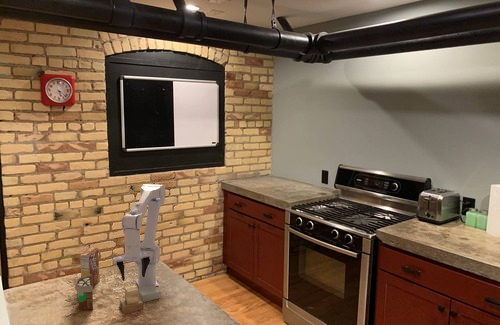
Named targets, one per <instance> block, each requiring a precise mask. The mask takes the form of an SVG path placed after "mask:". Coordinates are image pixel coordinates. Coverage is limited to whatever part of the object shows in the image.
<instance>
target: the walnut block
mask: <svg viewBox="0 0 500 325" xmlns="http://www.w3.org/2000/svg"><path fill="white" fill-rule="evenodd" d="M119 306H120V308H121V310H122V313H123V314H129V313H133V312H136V311H137V312H138V311H141V310H143V309H144V307H143V306H144V302H142V300H141V299H140V297H139V295H138V302H136V303H132V304H127V303H126V300H125V297H124V298H120V299H119Z"/></svg>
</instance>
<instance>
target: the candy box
mask: <svg viewBox="0 0 500 325" xmlns="http://www.w3.org/2000/svg"><path fill="white" fill-rule="evenodd" d="M79 261H80V276H81V277H83V276H86V275H90V274H92V289H94V287H95V286H97V284H98V283H99V282H100V281H101V277H100V276H101V275H100V274H101V273H100V258H99V248H98V247H89V248H88V249H86V250H84V252H82V253H81V254H80V255H79ZM81 277H80V278H81Z"/></svg>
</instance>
